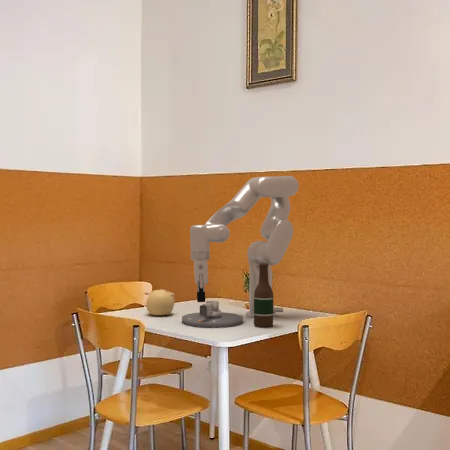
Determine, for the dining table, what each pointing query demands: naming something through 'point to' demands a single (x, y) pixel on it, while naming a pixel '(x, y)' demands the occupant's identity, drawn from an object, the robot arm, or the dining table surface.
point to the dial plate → (212, 320)
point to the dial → (210, 309)
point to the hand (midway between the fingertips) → (201, 301)
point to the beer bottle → (263, 300)
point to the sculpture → (160, 302)
